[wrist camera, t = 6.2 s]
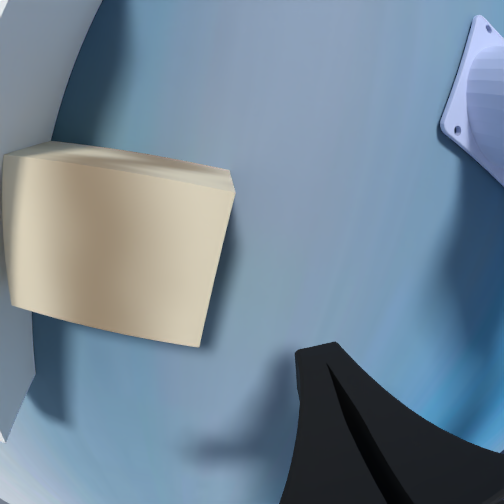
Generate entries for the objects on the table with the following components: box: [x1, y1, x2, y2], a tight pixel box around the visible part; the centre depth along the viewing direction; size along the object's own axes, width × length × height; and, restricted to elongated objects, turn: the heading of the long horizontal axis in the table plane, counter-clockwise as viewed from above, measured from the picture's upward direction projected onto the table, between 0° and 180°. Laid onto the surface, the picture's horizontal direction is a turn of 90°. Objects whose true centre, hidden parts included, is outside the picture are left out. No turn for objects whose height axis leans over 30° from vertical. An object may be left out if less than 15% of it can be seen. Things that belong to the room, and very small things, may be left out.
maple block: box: [2, 141, 235, 347], centre depth 11 cm, size 8×6×4 cm
